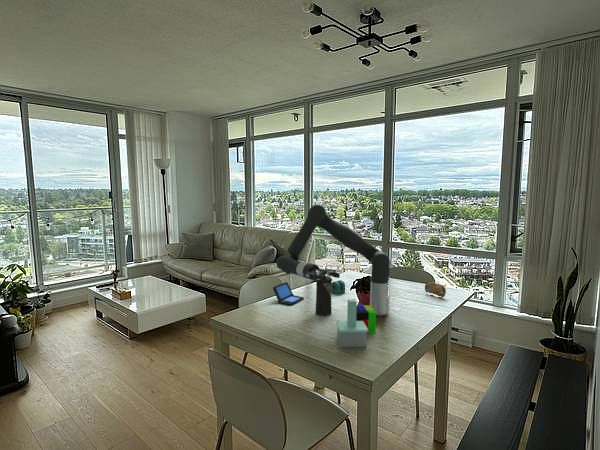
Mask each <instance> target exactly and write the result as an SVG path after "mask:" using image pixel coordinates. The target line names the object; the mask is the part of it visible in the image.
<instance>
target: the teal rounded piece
mask: <svg viewBox="0 0 600 450" xmlns="http://www.w3.org/2000/svg"><path fill="white" fill-rule="evenodd" d="M345 293H346V282H345V281H343V280H342V279H340V280H336V281H332V282H331V294H334V295H338V296H339V295H343V294H345Z"/></svg>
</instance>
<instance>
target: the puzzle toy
mask: <svg viewBox="0 0 600 450" xmlns="http://www.w3.org/2000/svg"><path fill="white" fill-rule="evenodd" d="M376 316H377V315H376V312H375V311H374V310H373V309H372V307H371V306H370V304H368V305H367V304H365V305H357V309H356V321H363V322H364V324H365V325H366V327H367V329H368V332H367V334H376V327H377V325H376V323H377V322H376V321H377V320H376V319H377V317H376Z"/></svg>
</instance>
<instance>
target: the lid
mask: <svg viewBox="0 0 600 450" xmlns="http://www.w3.org/2000/svg"><path fill="white" fill-rule="evenodd" d="M357 304H358V301H357V300H356V298H348V299H347V315H346V316H347V320H336V321H335V324H336V328H337V327H338V330H339V332H340V333H343V332H368V329H367V327H366V325H365V324H364V322H363V321H356V309H357V306H358V305H357Z"/></svg>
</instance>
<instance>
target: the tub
mask: <svg viewBox="0 0 600 450" xmlns="http://www.w3.org/2000/svg"><path fill="white" fill-rule="evenodd" d="M367 337H368V335H367V332H343V333H340V332H339V330H338V327H337V326H336V340H337V342H338V343H337V344H338V346H339V348H340V349H366V348H367V340H368V339H367Z"/></svg>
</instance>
